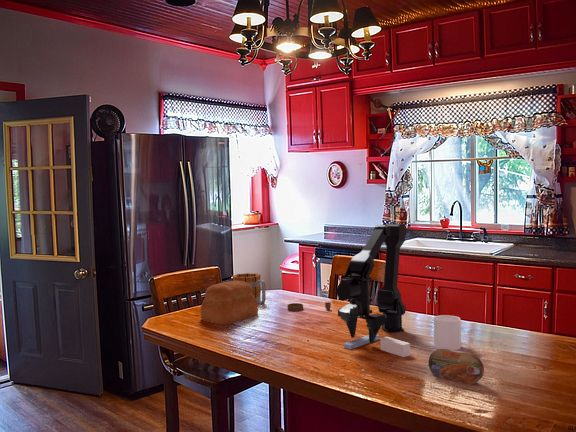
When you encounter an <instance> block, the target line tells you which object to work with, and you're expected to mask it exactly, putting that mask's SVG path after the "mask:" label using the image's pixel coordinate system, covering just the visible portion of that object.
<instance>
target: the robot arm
mask: <svg viewBox="0 0 576 432" xmlns="http://www.w3.org/2000/svg"><path fill="white" fill-rule="evenodd" d="M373 228H374V229H373V231H372V233H371V235H370V237H369V238H368V241H367V242H366V243H365V245H364V246H363V249H362V250H361V251H360V252H359V253H357V254H355V255H354V256H353V257H352V258H351V260H350V261H349V263H348V266H347V268H346V271H345V273H344V276H343V278H342V279H341V280H340V283H339V284H337V288H336V290H335V291H336V294H337V295H336V296H337V297H338V298H339V299H340V300H341V301H348V300H349V303H348V304H346V305H344V306H343V307H340V308H339V309H338V310H337V316H338V317H339V318H340V319H341V320H342V321H344V322H345V324H346V327H347V329H348V331H349V334H350V337H351V338H352V339H353V338H355V336H356V332H357V324H358V319H362V320H365V322H366V324H365V326H366V328H367V329H368V335H369V341H370V343H369V344H374V342H375V341H374V340H375V337H376V335H378V333H379V331H380V329H382V330H384V331H386V332H388V333H392V332H401V331H405V328H403V320H402V318H403V316H404V315H405V314H406V310H407V307H406V305H405V303H404V302H403V301H402V294H401V292H400V290H399V288H398V279H399V268H400V267H399V266H400V264H399V263H400V255H401V254H400V253H401V252H400V251H401V247H402V246H403V244H404V243H405V241H406V235H407V231H408V230H407V227H406V226H405V225H404V224H403V223H386V224H377V225H375V226H374V227H373ZM383 244H385V246H386V249H385V250H386V252H385V262H384V275H383V276H384V277H383V286H382V287H381V288H380V289H378V290H377V298H376V304H377V309H378V313H373V309H370V304H371V303H370V302H373V298H372V297H370V282H372V281H373V278H372V276H371V277H370V275H371V274H372V272H373V270H374V267H375V258H376V256H377V255H378V252H379V251H380V249H381V247H382V246H383Z"/></svg>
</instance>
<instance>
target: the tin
mask: <svg viewBox="0 0 576 432" xmlns="http://www.w3.org/2000/svg"><path fill="white" fill-rule="evenodd" d="M428 367H429V370H430V372H431V374H433V376H434V377H436V378H437V379H443V380H447V381H451V382H454V383H460V384H464V385H469V386H471V385H474V384H477V383H478V382H479V381H480V380H481V379H482V378H483V375H484V372H485V369H484V363H483V362H482V360H481V358H480V357H478V356H477V355H476V354H474V353H472V352H466V351H460V350H448V349H437V350H434V351H432V353H431V354H430V355H429V357H428Z"/></svg>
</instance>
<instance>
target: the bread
mask: <svg viewBox="0 0 576 432" xmlns="http://www.w3.org/2000/svg"><path fill="white" fill-rule="evenodd" d="M252 292H253V289H252V287H251V286H250V285H249V284H248V283H247V282H244V281H237V280H234V281H233V280H231V281H225V282H219V283H217V284H215V283H214V284H211V285H210V286H209V287H207V288H206V290H205V292H204V299H203V301H202V303H201V306H200V319H201V321H202V320H203V321H202V322H204V321H207V322H206V323H208V322H211V323H210V324H213V323H215V324H214V325H218V324H219V326H228V325H232V324H235V323H237V322H241V321H244V320H247V319H251V318H254V317H256V316H257V315H258V313H259V304H258V303H257V301H256V299H255V297H254V295H253V293H252Z"/></svg>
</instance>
